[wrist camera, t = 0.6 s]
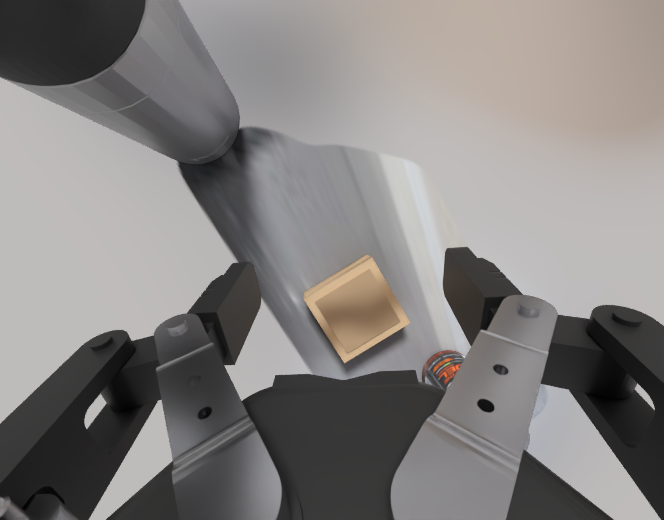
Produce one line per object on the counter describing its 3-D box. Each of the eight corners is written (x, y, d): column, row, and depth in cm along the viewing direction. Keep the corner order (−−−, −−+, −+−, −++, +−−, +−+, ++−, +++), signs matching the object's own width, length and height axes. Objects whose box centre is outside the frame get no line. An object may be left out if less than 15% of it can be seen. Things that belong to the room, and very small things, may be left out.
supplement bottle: (456, 339, 35) (527, 394, 23) (476, 380, 36) (554, 452, 24) (411, 363, 35) (461, 431, 23) (433, 404, 35) (491, 488, 24)
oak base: (304, 292, 32) (303, 299, 29) (366, 254, 33) (372, 257, 29) (341, 350, 34) (344, 363, 31) (401, 314, 34) (410, 323, 31)
